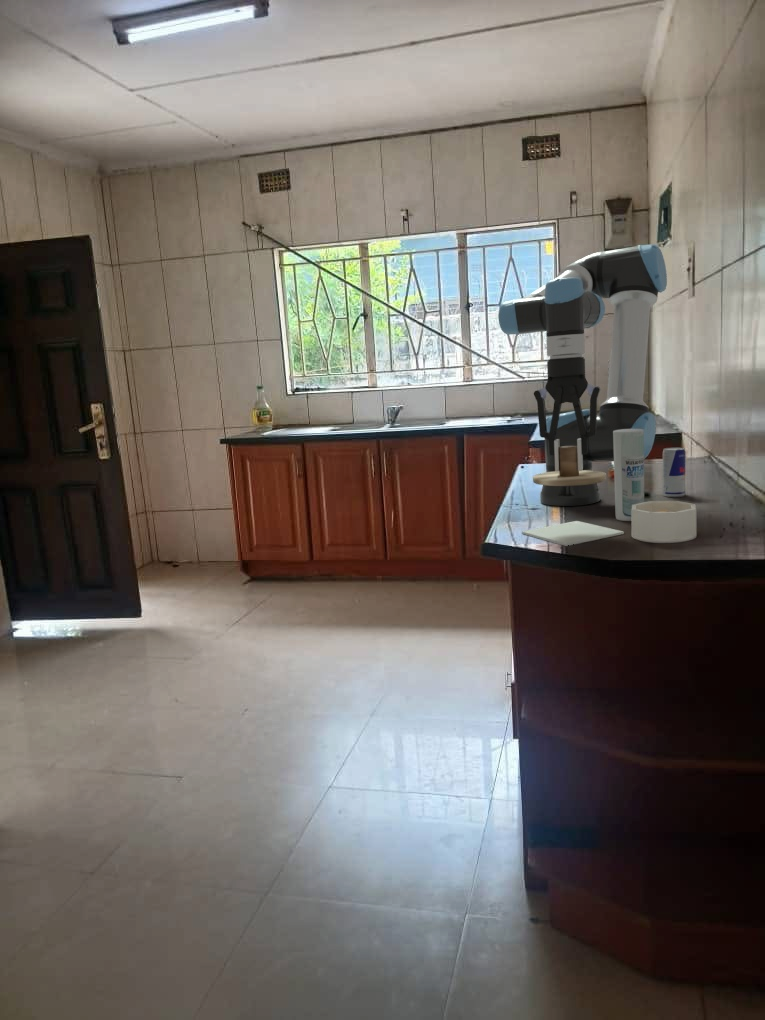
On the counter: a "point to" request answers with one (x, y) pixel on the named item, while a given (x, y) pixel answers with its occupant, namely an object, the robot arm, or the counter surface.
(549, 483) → the lid
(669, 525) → the bowl
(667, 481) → the energy drink
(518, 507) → the counter surface
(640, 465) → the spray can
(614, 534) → the mat
